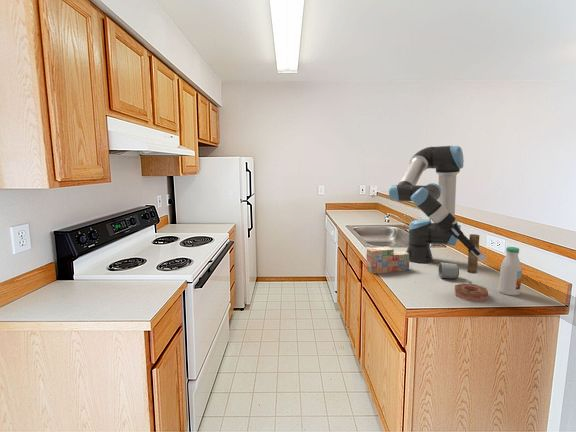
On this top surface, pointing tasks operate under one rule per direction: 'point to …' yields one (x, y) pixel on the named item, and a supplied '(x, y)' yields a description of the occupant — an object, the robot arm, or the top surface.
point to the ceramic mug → (448, 270)
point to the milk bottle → (510, 273)
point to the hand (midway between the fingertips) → (483, 258)
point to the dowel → (471, 257)
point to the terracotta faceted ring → (471, 292)
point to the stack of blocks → (386, 260)
